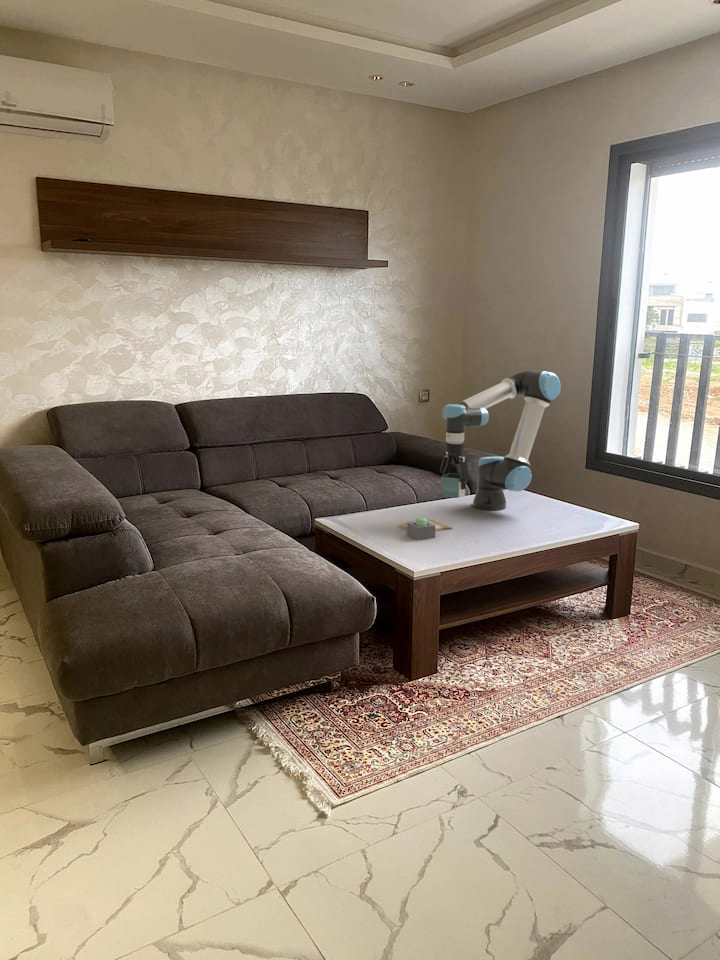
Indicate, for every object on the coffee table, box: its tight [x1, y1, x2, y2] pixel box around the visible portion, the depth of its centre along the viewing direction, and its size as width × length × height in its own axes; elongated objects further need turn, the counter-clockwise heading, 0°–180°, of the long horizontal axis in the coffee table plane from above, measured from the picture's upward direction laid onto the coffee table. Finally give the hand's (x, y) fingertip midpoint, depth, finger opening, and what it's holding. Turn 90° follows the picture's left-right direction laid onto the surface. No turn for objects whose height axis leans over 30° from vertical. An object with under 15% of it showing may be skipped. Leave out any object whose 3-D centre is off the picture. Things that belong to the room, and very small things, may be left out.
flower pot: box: [440, 472, 468, 499], centre depth 315 cm, size 9×9×9 cm
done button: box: [415, 517, 428, 526], centre depth 296 cm, size 4×4×5 cm
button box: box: [406, 521, 436, 541], centre depth 297 cm, size 8×8×5 cm
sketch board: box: [397, 519, 452, 532], centre depth 310 cm, size 18×13×1 cm
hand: (453, 493), depth 316 cm, fingers closed on flower pot, 11 cm apart
